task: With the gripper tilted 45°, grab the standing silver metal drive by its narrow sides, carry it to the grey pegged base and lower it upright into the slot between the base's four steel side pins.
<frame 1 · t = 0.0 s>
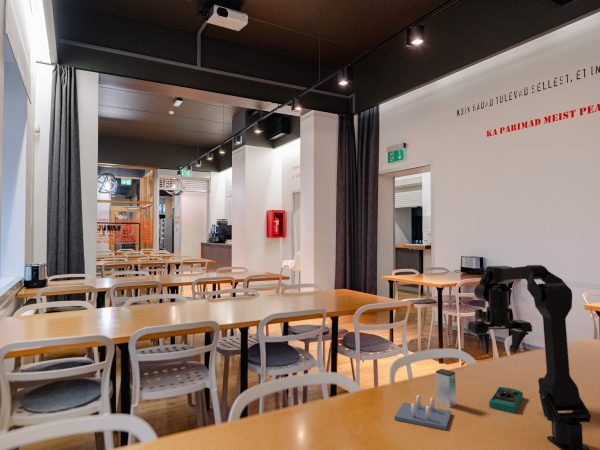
hand: (500, 353, 127), 15 cm above the table, tool pointing down, fingers open, 9 cm apart
digital multimeter: (506, 404, 124), on the table
drive: (446, 403, 124), on the table
grey pegged base: (423, 417, 115), on the table
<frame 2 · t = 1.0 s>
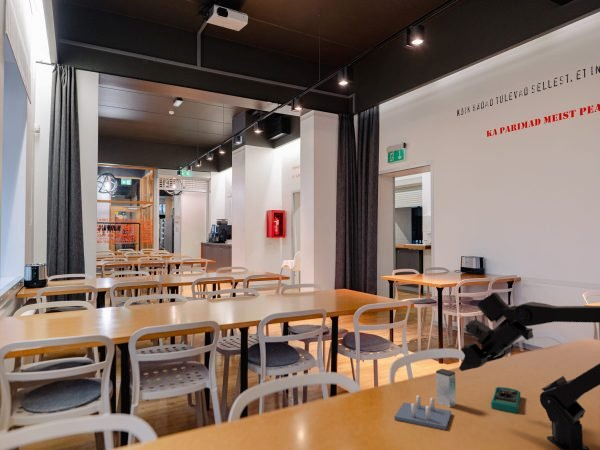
hand: (468, 366, 119), 13 cm above the table, tool tilted 45°, fingers open, 9 cm apart
nothing on the table moved.
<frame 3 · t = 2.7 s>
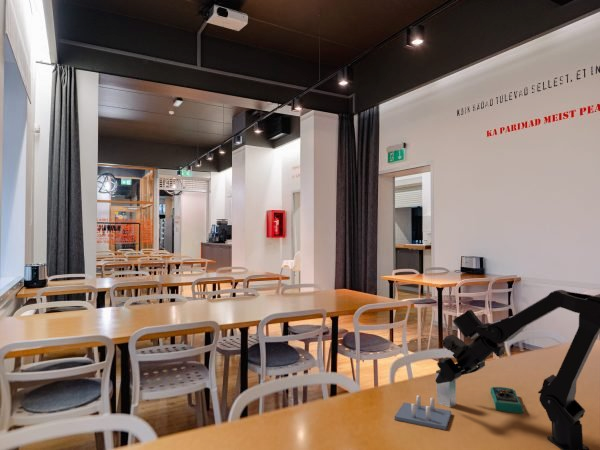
hand: (444, 378, 125), 8 cm above the table, tool tilted 45°, fingers open, 9 cm apart
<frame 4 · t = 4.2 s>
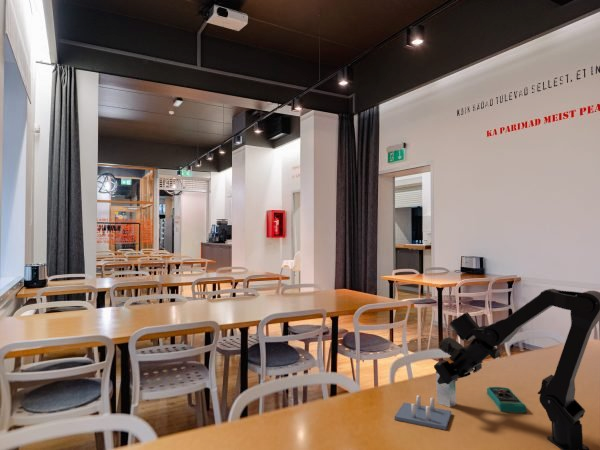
hand: (441, 381, 126), 7 cm above the table, tool tilted 45°, fingers closed on drive, 3 cm apart
drive: (446, 403, 124), on the table, touching gripper
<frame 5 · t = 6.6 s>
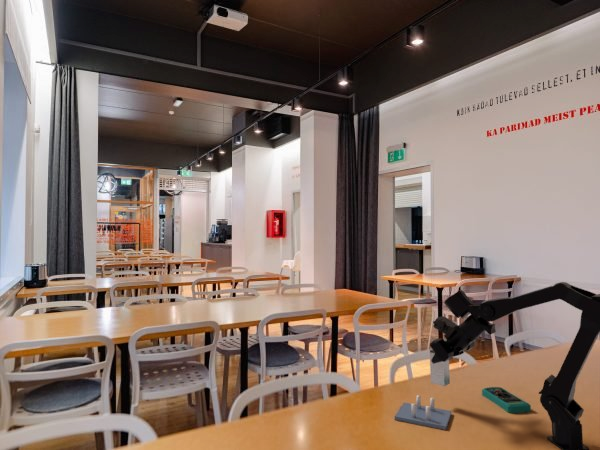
hand: (435, 360, 124), 14 cm above the table, tool tilted 45°, fingers closed on drive, 3 cm apart
drive: (440, 383, 123), point 7 cm above the table, touching gripper
when the fingers open (9 cm above the table, at t = 9.2 s): drive drops 1 cm, resting on grey pegged base.
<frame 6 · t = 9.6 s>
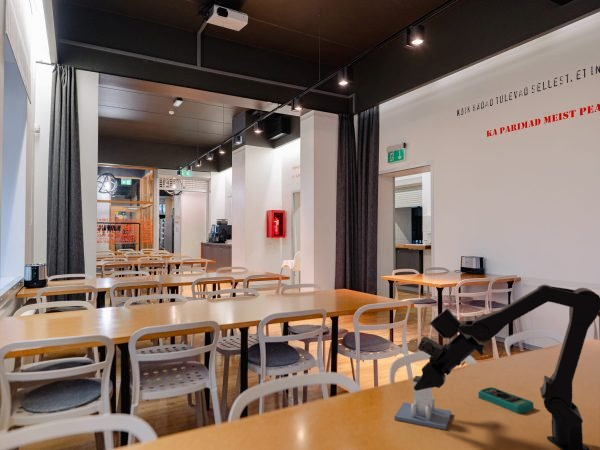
hand: (417, 384, 116), 9 cm above the table, tool tilted 45°, fingers open, 8 cm apart
drive: (423, 413, 115), point 1 cm above the table, touching grey pegged base
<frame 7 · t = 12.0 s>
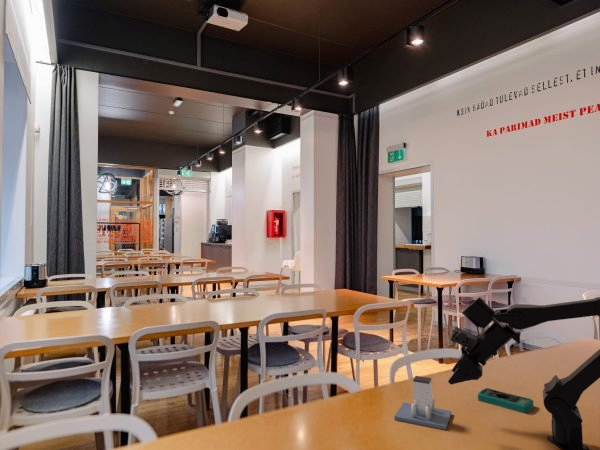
hand: (451, 377, 112), 12 cm above the table, tool tilted 45°, fingers open, 9 cm apart
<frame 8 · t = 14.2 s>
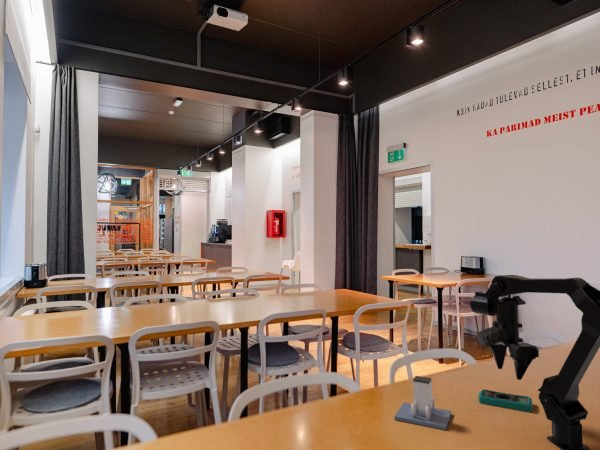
hand: (509, 374, 113), 13 cm above the table, tool pointing down, fingers open, 9 cm apart
at the end: drive 0.0 cm off-centre on the grey pegged base, point 1.0 cm above the grey pegged base's base; drive tilted 0°; the gripper is holding nothing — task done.
